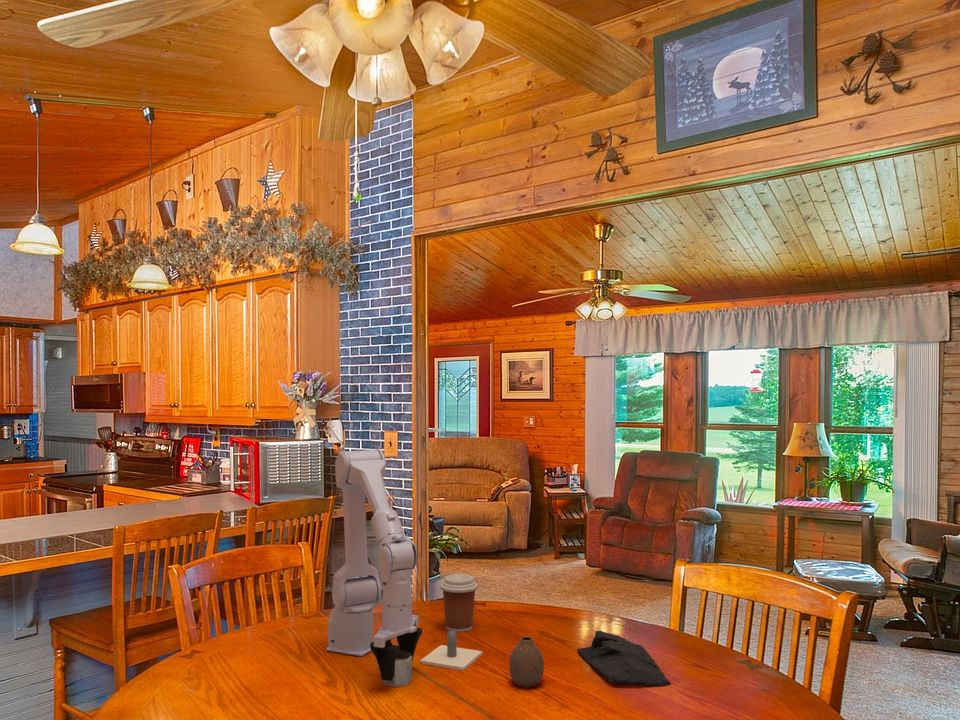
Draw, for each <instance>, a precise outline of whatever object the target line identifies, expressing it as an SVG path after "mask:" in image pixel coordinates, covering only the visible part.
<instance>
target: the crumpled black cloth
mask: <svg viewBox="0 0 960 720" xmlns="http://www.w3.org/2000/svg"><path fill="white" fill-rule="evenodd" d="M576 651H577V652H578V654H579V653H580V655H581V656H582V658H583V660H584V661H586V663H588V664H589V666H591V667H593V668H594V669H595V670H596V671H597V672H598V673H599V674H600V673H601V674H600V675H601V676H602V677H603V678H604V679H606V680H607V681H608V682H610V683H612V684H614V685H637V686H638V685H639V686H651V687H663V686H664V687H665V686H668V685H672V684H671V681H670V680H669V679H668V678H667V677H666V676H665V673H663V672H662V670H661V668H660V666H659V664H657V663H656V661H655V659H654V658H652V656H651V655H650V654H649V652H648V650H646V649H645V648H644V646H642V645H639V644H636V643H634V642H631V641H629V640H627V639H626V638H624V637H621V636H620V635H617V634H613V633H609V632H607V631H606V632H605V631H603V630H596V631H595V634H594V637H593V639H592V641H591V645H590V646H586V647H581V648H579V647H578V648H577V649H576Z"/></svg>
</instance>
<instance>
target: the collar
mask: <svg viewBox="0 0 960 720" xmlns="http://www.w3.org/2000/svg"><path fill="white" fill-rule="evenodd" d="M412 678H413V661H412V655H411V654H410V653H409V651H402V650H398V653H397V656H396V660H395V667H394V676H393V680H392V681H387V680H382V679H381V682H382V683H383V685H384V686H387V687H392V688H398V687H405V686H407V685H409V684H410V683H412V681H413V679H412Z"/></svg>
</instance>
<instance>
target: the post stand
mask: <svg viewBox="0 0 960 720" xmlns="http://www.w3.org/2000/svg"><path fill="white" fill-rule="evenodd" d="M457 633H458V632H456V631H449V630H447V633H446V639H447V640H446V641H447V643H446V644H447V645H443V644H441V645H439V646H438V647H437V648H435V649H434V650H432V651H431V652H429V653H428V654H427V655H425V656H424V657H423V658H421V659H420V662H419V663H420V664H421V663H422V664H421V665H430V666H434V667H440V668H447V669H452V670H458V671H464V670H466V669H467V668H469V666H471V665H472V664H473V663H474V662H475V661H476V660H477V659H478V658H480V657H481V656H482V655H483V651H482V650H476V649H469V648H464V647H457V642H458V641H457V637H458V635H457Z"/></svg>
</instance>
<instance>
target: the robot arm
mask: <svg viewBox="0 0 960 720" xmlns="http://www.w3.org/2000/svg"><path fill="white" fill-rule="evenodd" d="M336 456H337V457H336V459H335V462H334V466H335V467H334V469H335V470H334V471H335V482H336V488H338V489H340V490H342V499H343V500H342V502H343V503H342V505H343V526H344V527H343V528H344V553H345V555H344V556H345V559H344V560H345V562H344V564H343V565H342V566H341V567H340V568H339V569H338V570H337V571H335V572H334V574H333V580H332V587H331V588H332V589H331V597H332V602H333V605H334V607H333V608H332V609H331V611H330V612H329V616H328V622H327V625H328V626H327V629H328V630H327V647H326V648H325V650H326V651H328V652H334V653H338V654H339V653H340V654H345V655H352V656H356V657H364V656H365V655H366V654H369V653H370V652H372V653H373V655H374V658H375V660H376V663H377V666H378V669H379V673H380V676H381V681H382V680H387V681H392V680H393V676H394V667H395V660H396V656H397V653H398V650H402V651H409V653H410V654H411V655H412V662H413V661H414V656H415V652H416V648H417V645H418V643H419V640H420V637H421V636H422V634H423V629H422V628H421V627H417V626H419V615H416V614H413V613H412V611H413V610H412V607H413V606H412V605H413V604H412V600H413V598H412V597H413V596H412V589H413V587H412V583H413V582H412V580H413V579H412V578H413V576H412V575H413V574H412V572H413V571H412V570H414V569H415V568H416V566H417V563H418V550H417V548H416V547H417V546H416V545H415V543H414V541H413V540H412V539H410V536H409V535H406V534H405V530H404V527H403V525H402V522H401V519H400V517H399V514H398V512H397V511H396V510H395V509H392V508H391V507H390V502H389V498H388V495H387V491H386V490H387V489H386V486H385V481H384V477H385V474H386V467H387V465H386V464H387V461H386V456H385V454H384V452H383V451H382V450H381V449H380V448H376V449H369V450H341V451H340V452H339V453H338V454H337V455H336ZM366 499H367V502H368V504H369V506H370V509H371V511H372V513H373V515H372V517H371V520H370V523H371V526H372V527H371V528H372V531H373V533H374V536H375V539H376V543H377V546H378V548H379V549H378V554H377V563H378V567H379V571H378V569H377V568H376V567H375V566H374V565H372V564H370V563H369V561H368V560H369V559H368V558H369V557H368V539H367V538H368V537H367V536H368V534H367V533H368V532H367V512H366V511H367V510H366ZM380 580H381V581H382V584H381V581H380ZM381 597H382V625H381V626H380V628H379V630H378V632H377V633H376V634H375V635H374V609H375V608H376V607H377V604H378V603H379V602H380V600H381ZM395 638H396V641H397V644H393V642H392V640H394V639H395Z"/></svg>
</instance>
